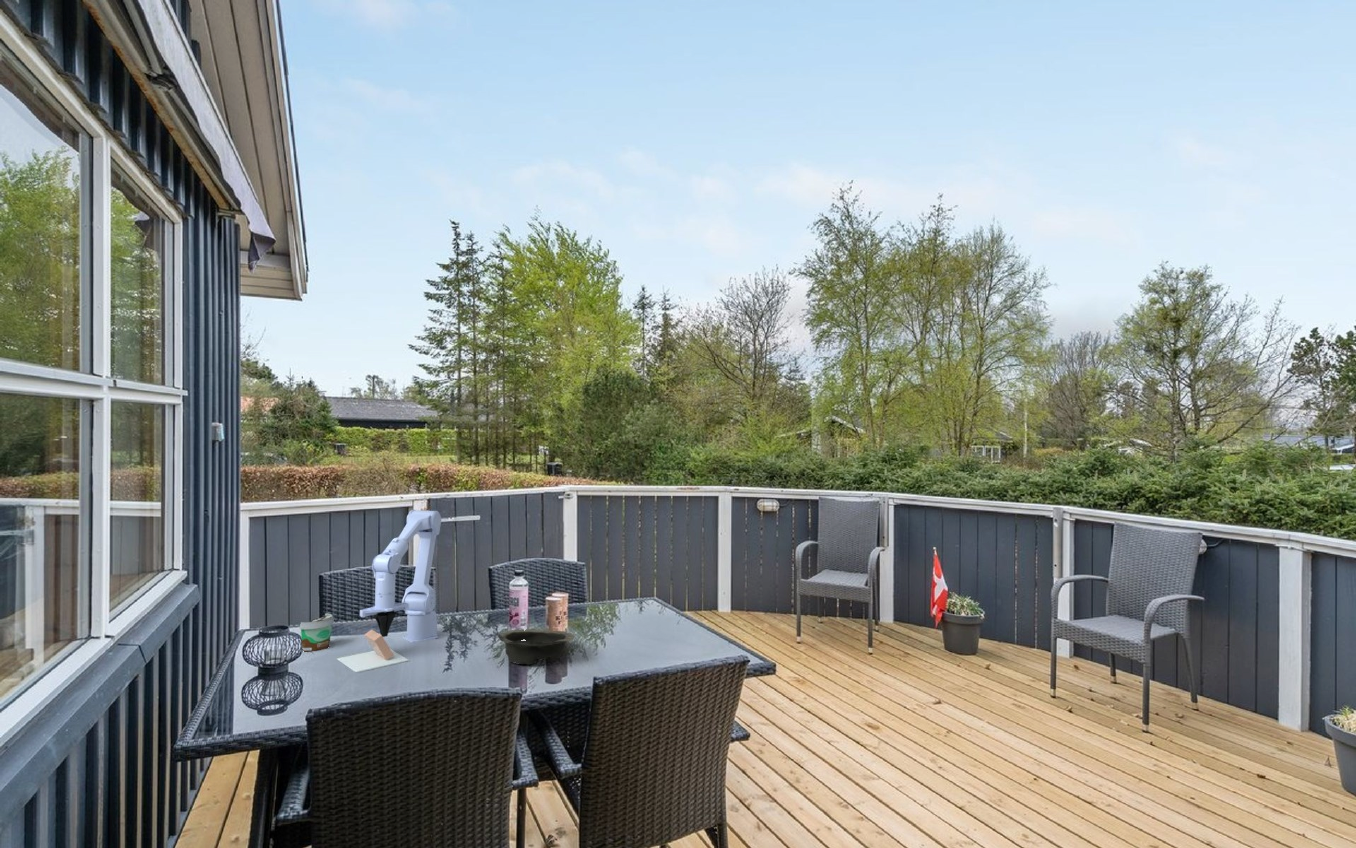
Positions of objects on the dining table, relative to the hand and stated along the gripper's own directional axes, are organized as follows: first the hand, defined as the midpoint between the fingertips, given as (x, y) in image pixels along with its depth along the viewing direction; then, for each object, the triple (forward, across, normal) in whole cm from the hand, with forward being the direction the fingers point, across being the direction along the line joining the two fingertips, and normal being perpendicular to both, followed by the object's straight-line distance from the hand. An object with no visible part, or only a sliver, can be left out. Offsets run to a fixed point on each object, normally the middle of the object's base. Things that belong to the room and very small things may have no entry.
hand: (384, 635), depth 217 cm
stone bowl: (+7, +37, -30) cm, 48 cm away
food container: (+7, -11, +22) cm, 26 cm away
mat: (+7, -3, 0) cm, 8 cm away
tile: (+6, 0, 0) cm, 6 cm away
